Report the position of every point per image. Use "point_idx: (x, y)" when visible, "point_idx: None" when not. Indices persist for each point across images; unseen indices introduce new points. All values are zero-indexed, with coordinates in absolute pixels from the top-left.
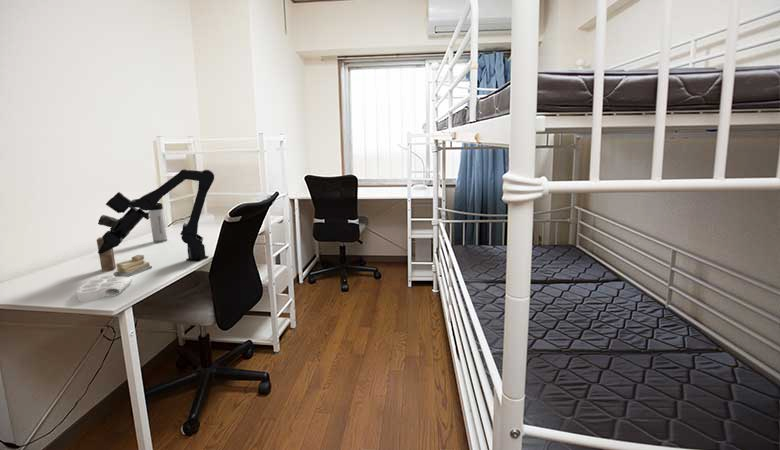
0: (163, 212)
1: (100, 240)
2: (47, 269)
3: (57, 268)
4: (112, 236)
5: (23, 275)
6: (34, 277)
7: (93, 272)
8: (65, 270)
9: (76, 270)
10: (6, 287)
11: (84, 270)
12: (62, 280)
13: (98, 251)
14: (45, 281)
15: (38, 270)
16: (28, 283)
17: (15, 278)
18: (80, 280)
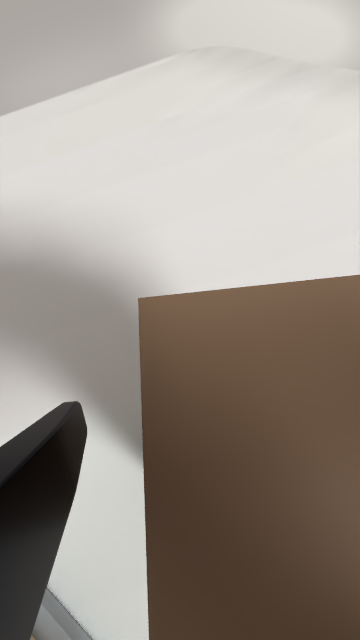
0: None
1: (145, 401)
2: (336, 105)
3: (346, 136)
4: None
5: (252, 66)
6: (199, 113)
7: None
8: (291, 186)
9: (273, 241)
10: (83, 87)
11: None
12: (77, 246)
13: (48, 415)
14: (101, 179)
15: (326, 80)
16: (103, 130)
17: (212, 61)
18: (19, 343)
